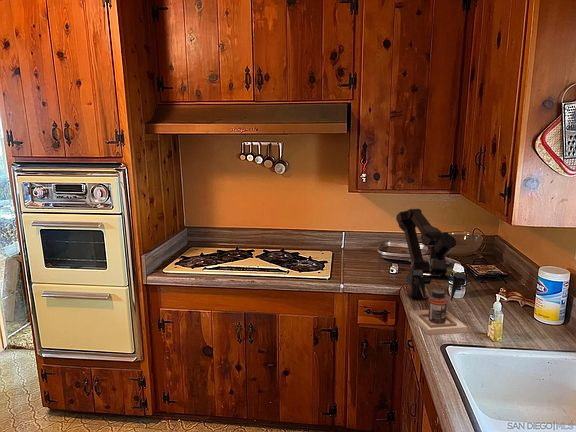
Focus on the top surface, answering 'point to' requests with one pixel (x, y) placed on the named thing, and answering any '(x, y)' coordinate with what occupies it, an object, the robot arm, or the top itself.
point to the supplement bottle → (437, 307)
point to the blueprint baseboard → (433, 329)
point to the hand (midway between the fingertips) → (437, 299)
